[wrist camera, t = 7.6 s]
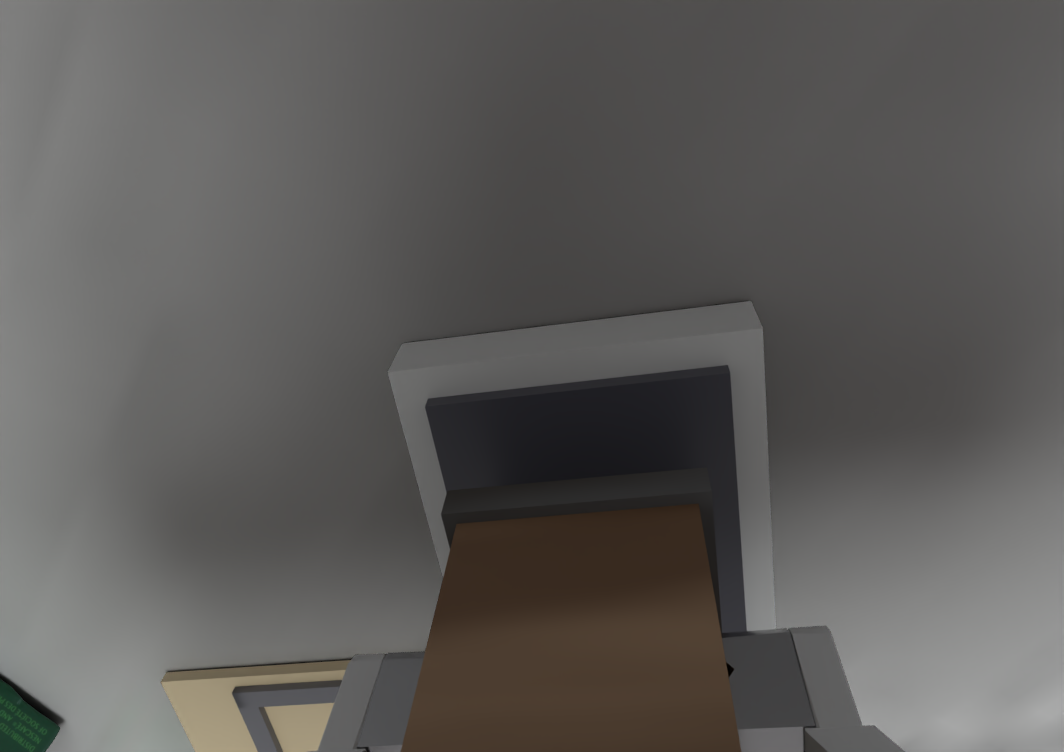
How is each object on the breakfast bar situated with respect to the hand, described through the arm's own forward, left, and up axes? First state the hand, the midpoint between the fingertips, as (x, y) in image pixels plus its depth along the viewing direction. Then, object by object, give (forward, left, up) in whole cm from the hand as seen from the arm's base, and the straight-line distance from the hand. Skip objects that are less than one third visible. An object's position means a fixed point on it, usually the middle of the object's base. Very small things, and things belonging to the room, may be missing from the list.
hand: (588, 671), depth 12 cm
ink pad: (+1, 0, -5) cm, 5 cm away
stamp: (0, 0, -2) cm, 2 cm away
